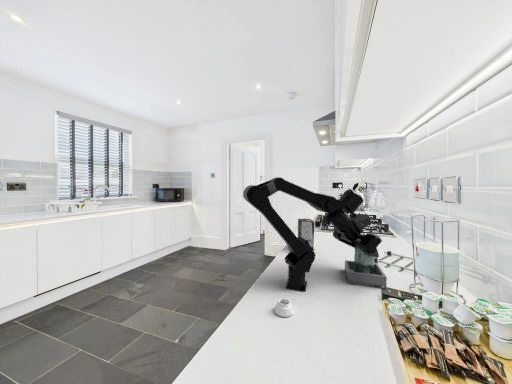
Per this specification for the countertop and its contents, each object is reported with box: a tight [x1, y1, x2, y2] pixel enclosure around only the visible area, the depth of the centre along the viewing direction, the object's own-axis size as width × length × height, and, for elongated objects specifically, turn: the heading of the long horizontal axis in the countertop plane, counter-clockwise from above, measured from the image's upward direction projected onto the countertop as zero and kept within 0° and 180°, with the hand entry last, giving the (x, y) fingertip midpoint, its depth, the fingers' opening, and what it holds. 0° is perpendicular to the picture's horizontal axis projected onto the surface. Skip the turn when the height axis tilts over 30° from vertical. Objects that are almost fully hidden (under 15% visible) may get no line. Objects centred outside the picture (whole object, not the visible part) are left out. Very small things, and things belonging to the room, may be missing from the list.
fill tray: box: [344, 259, 388, 289], centre depth 76 cm, size 12×12×4 cm
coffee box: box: [297, 218, 315, 249], centre depth 104 cm, size 9×6×16 cm
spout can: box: [353, 232, 375, 274], centre depth 76 cm, size 6×6×16 cm
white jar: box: [274, 298, 295, 318], centre depth 56 cm, size 5×3×5 cm
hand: (367, 252), depth 76 cm, fingers open, 9 cm apart
